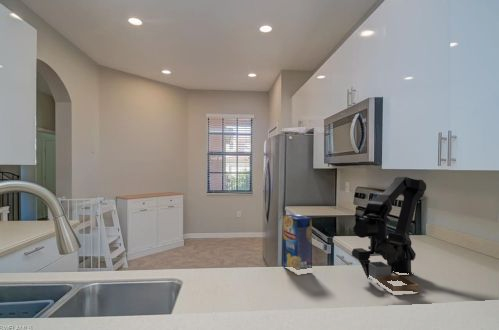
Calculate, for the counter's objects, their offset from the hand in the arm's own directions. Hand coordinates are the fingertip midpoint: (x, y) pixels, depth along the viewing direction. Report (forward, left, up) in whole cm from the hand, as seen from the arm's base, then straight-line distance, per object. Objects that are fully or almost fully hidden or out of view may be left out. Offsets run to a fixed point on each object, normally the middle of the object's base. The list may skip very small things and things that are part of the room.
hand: (378, 276), depth 108 cm
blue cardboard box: (+27, -16, -2) cm, 31 cm away
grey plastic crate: (0, 0, -2) cm, 2 cm away
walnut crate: (-1, +8, -2) cm, 9 cm away
